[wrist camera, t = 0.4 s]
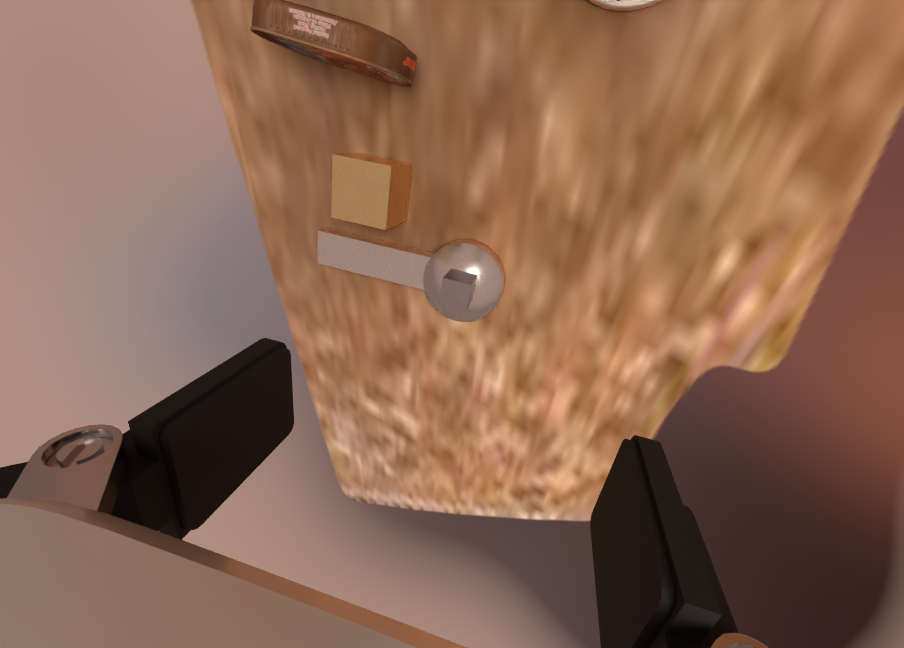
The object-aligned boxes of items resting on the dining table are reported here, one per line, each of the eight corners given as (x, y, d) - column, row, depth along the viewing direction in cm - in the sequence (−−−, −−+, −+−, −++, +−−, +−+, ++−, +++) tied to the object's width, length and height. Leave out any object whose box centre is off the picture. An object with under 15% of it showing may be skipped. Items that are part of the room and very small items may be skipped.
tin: (289, 51, 40) (226, 28, 32) (291, 14, 38) (226, -19, 31) (423, 93, 38) (390, 80, 31) (431, 56, 37) (398, 33, 29)
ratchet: (327, 206, 46) (296, 214, 40) (513, 248, 42) (507, 263, 37) (326, 277, 50) (297, 293, 44) (496, 321, 46) (487, 344, 41)
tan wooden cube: (361, 153, 42) (332, 154, 37) (413, 163, 41) (391, 166, 36) (358, 209, 45) (331, 217, 39) (406, 220, 44) (385, 230, 38)
